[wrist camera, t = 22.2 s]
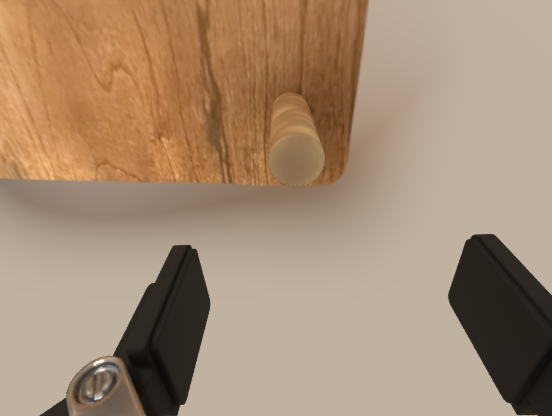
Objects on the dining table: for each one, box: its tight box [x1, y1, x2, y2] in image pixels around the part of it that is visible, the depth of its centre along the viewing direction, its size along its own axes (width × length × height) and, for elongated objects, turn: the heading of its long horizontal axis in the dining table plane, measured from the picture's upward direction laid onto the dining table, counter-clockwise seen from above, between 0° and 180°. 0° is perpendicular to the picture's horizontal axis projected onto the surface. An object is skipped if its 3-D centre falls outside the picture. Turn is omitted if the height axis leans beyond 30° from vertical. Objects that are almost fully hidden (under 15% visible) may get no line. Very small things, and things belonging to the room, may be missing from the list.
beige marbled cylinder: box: [268, 92, 325, 186], centre depth 25 cm, size 4×4×12 cm
